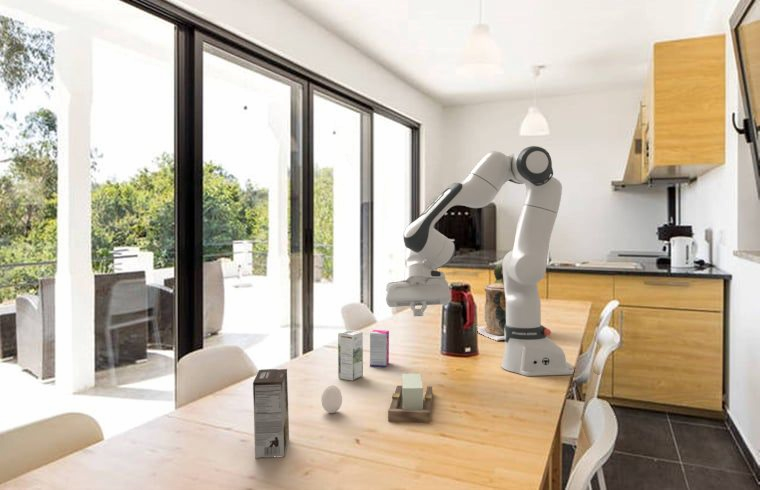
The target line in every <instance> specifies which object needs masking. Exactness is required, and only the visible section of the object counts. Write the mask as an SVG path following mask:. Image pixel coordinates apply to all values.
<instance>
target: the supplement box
mask: <svg viewBox="0 0 760 490" xmlns="http://www.w3.org/2000/svg"><path fill="white" fill-rule="evenodd" d="M389 346H390V330H383V329H382V330H381V329H373V330H372V331H371V332H370V333H369V367H374V368H375V367H378V368H386V367H387V365H388V364H389V362H390V355H389V354H390V347H389Z"/></svg>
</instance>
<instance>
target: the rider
mask: <svg viewBox="0 0 760 490" xmlns="http://www.w3.org/2000/svg"><path fill="white" fill-rule="evenodd" d="M401 386H402V396H401V398H402V409H413V410H424V386H423V383H422V376H421V373H401Z"/></svg>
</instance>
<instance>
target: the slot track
mask: <svg viewBox="0 0 760 490" xmlns="http://www.w3.org/2000/svg"><path fill="white" fill-rule="evenodd" d="M391 395H392V396H391V399H392V400H391V403H390V406H389V408H388V409H387V421H388V422H400V421H405V422H404V423H425V422H426V423H428V424H429V423H430V420H431V419H430V418H431V411H432V409H431V408H432V400H433V386H429V385H428V386H426V391H425V394H424V396H423V401H424V402H423V410H413V409H403V408H399V407H400V406H399V405H400V402H401V398H402V385H396V388H395V389H394V393H392V394H391Z"/></svg>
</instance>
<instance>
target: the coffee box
mask: <svg viewBox="0 0 760 490" xmlns="http://www.w3.org/2000/svg"><path fill="white" fill-rule="evenodd" d="M252 390H253V391H252V392H253V394H252V395H253V427H254V428H253V429H254V431H253V432H254V433H253V434H254V437H253V438H254V458H255V459H259V458H258V457H274V456H276V457H275V458H278V457H277V456H284V455H285V456H286V453H287V450H286V449H287V448H288V444H289V440H290V426H289V425H290V421H289V396H288V395H289V394H288V393H289V391H288V390H289V389H288V368H283V369H282V368H280V369H278V368H266V369H259V370H258V372H257V374H256V375H255V377H254V380H253V382H252Z"/></svg>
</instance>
